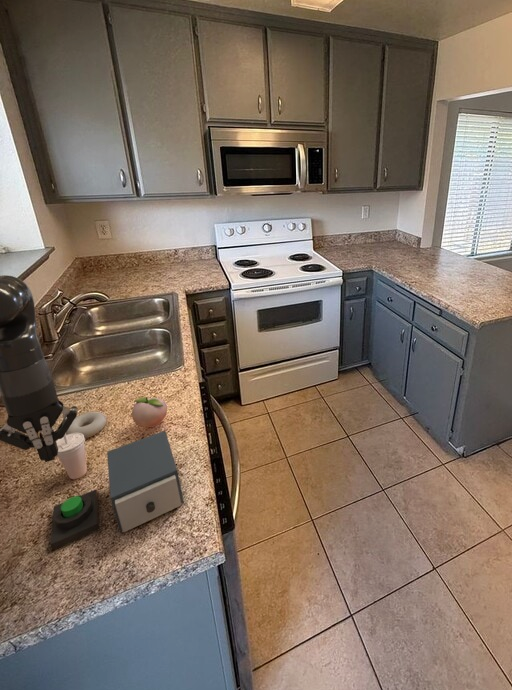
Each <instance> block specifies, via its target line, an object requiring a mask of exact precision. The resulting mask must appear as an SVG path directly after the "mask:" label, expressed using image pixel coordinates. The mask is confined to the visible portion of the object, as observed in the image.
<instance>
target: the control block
mask: <svg viewBox="0 0 512 690" xmlns="http://www.w3.org/2000/svg"><path fill="white" fill-rule="evenodd" d="M77 496H79V497H81V499H82V502H83V508H82V510H81V511H80V512H79V513H77V514H76V515H74V516H72V517H64V516H63V513H62V511H61V506H62V504H63V503H64V502H61V503H59V504H56V505H54V506H53V511H52V512H53V513H52V523H51V533H50V542H49V546H50V548H51V551H55V550H57V549H59V548H61V547H64V546H66V545H68V544H70V543H72V542H75V541H77V540H80V539H82V538H84V537H85V536H88V535H90V534H92V533H94V532H97V531H99V530H100V513H99V511H100V509H99V494H98V489H94V490H90V491H89V492H86V493H83V494H81V495H77Z"/></svg>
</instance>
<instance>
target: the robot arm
mask: <svg viewBox="0 0 512 690" xmlns="http://www.w3.org/2000/svg"><path fill="white" fill-rule="evenodd" d="M0 397H1V400H2V403H3V405H4V408H5V411H6V414H7V419H6V423H5V424H4V425H2V426H0V441H1V442H3V443H6V444H7V445H10V446H14V447H15V448H18V449H20V450H24V451H27V450H29V449H32V448H34V449H36V452H37V454H38V458H39V460H40V461H44V462H45V463H48V462H51V461H54V460H56V457H58V456H57V454H58V447H57V443H56V441H57V440H59V439H62V438H63V437H64V435H65V433H66V432H67V430H68V429H69V427H70V426H71V424H72V422H73V421H74V419H75V418H76V417H77V416H78V406H77V405H72V406H70V407H69V406H65V405H64V403H63V402H62V401H61V400H60V399H59V396H58V393H57V390H56V387H55V383H54V379H53V376H52V373H51V370H50V366H49V364H48V362H47V360H46V358H45V356H44V352H43V348H42V345H41V342H40V339H39V337H38V333H37V317H36V306H35V300H34V295H33V293H32V291H31V289H30V287H29V286H28V285H27V283H25V281H23V280H22V279H20V278H18V277H16V276H14V275H7V274H5V275H4V274H2V275H0ZM61 414H62V417H61V418H62V421H61V423H60V424H59V426H58V427H57V428H56V430H54V426H55V425H56V423H57V421H58V419H59V417H60V416H61ZM26 434H27V435H26Z"/></svg>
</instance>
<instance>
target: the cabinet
mask: <svg viewBox="0 0 512 690" xmlns="http://www.w3.org/2000/svg"><path fill="white" fill-rule="evenodd" d="M172 451H173V450H172V448H171V445H170V442H169V438H168V435H167V431H166V430H163V431H159V432H157V433H154V434H151V435H148V436H146V437H143V438H140V439H137V440H135V441H132V442H130V443H127V444H124V445H121V446H118V447H116V448H113V449H110V450H108V451H106V456H107V471H108V485H109V498H110V502H111V505H112V509H113V513H114V515H115V516H114V517H115V519H116V523H117V527H118V529H119V533H121V534H122V533H123V530H122V527H121V523H120V520H119V516H118V513H117V509H116V506H115V500H116V499H119V497H122V496H124V495H126V494H129V493H131V492H133V491H136V490H138V489H140V488H143V487H145V486H147V485H150V484H152V483H154V482H157V481H159V480H161V479H164V478H166V477H168V476H172V475H175V477H176V481H177V486H178V491H179V496H180V500H181V505H183V504H184V497H183V492H182V488H181V487H182V486H181V482H180V478H179V473H178V469H177V464H176V461H175V458H174V454H173V452H172Z"/></svg>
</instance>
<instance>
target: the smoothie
mask: <svg viewBox="0 0 512 690" xmlns="http://www.w3.org/2000/svg"><path fill="white" fill-rule="evenodd" d="M85 442H86V438H84V435H83V434H81V433H72V434H68V435H66V433H65V435H64V437H63V438H62V439H58V440H56V443H57V447H58V454H57V456H56V457H57V458H58V460H59V461H60V463H61V465H62V467H63V469H64V470H65V473H67V475H68V477H69V479H71V480H76V479H80V478H82V477H83V476H84V475H85V474H86V473H87V472H88V466H87V464H88V463H87V457H86V448H85V447H86V446H85Z"/></svg>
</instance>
